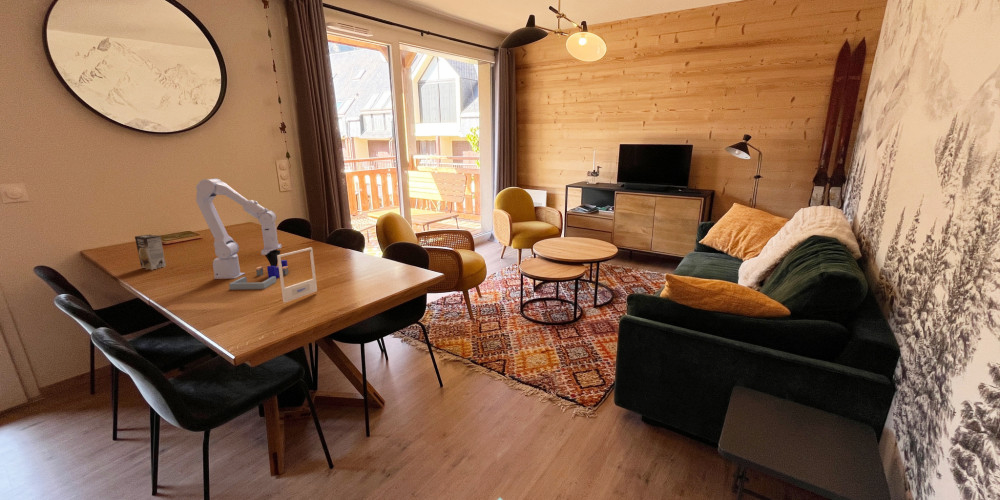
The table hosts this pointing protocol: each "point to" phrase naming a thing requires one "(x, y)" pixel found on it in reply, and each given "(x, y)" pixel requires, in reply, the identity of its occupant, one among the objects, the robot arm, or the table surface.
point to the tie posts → (260, 270)
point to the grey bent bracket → (251, 284)
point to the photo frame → (299, 288)
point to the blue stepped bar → (275, 269)
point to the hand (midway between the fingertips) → (274, 266)
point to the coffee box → (150, 251)
